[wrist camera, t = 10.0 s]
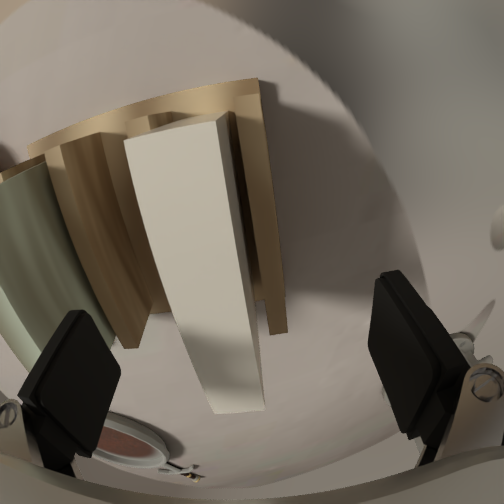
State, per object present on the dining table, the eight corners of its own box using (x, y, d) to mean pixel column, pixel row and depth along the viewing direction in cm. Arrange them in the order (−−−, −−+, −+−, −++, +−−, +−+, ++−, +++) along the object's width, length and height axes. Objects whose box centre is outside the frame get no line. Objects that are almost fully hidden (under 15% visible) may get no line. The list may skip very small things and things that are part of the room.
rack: (256, 79, 14) (286, 43, 5) (283, 288, 21) (311, 417, 12) (34, 142, 15) (-82, 197, 6) (97, 310, 22) (49, 416, 12)
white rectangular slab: (228, 110, 14) (215, 120, 6) (253, 284, 20) (265, 409, 11) (187, 117, 14) (123, 140, 6) (220, 288, 20) (214, 414, 11)
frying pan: (165, 488, 41) (38, 424, 29) (166, 476, 44) (44, 410, 31) (238, 480, 38) (95, 411, 25) (237, 465, 40) (101, 391, 28)
